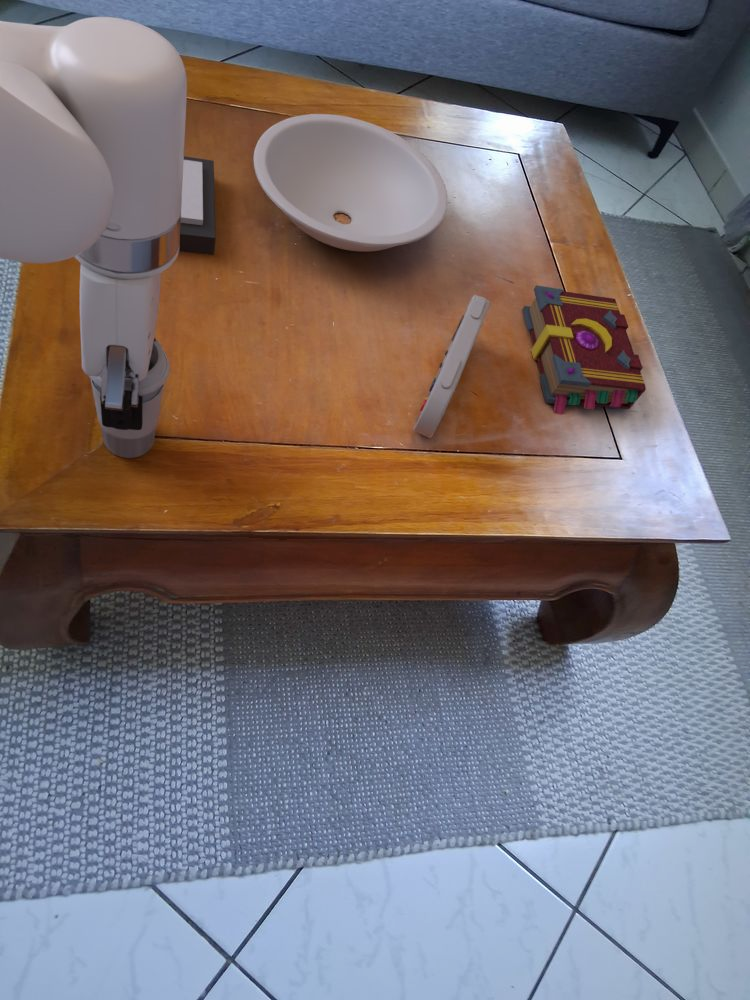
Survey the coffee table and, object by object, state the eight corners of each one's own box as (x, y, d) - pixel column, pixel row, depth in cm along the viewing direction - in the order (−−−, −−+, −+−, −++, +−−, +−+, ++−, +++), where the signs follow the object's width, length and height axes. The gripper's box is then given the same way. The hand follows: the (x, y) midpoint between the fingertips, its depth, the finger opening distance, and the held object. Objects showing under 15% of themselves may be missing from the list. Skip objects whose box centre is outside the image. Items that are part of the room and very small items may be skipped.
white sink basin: (216, 236, 90) (220, 188, 84) (287, 136, 104) (295, 89, 98) (403, 314, 91) (420, 272, 85) (450, 205, 105) (466, 163, 99)
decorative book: (600, 322, 99) (619, 294, 95) (631, 420, 91) (654, 394, 87) (520, 311, 97) (537, 281, 92) (545, 412, 88) (565, 384, 84)
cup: (181, 443, 73) (187, 359, 64) (126, 481, 70) (123, 398, 60) (131, 397, 75) (129, 309, 65) (74, 432, 71) (63, 343, 61)
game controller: (454, 330, 92) (479, 277, 85) (471, 338, 92) (497, 286, 85) (404, 443, 80) (428, 393, 74) (423, 452, 80) (449, 403, 74)
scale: (213, 255, 88) (216, 232, 85) (84, 240, 84) (82, 216, 81) (212, 178, 95) (214, 154, 92) (93, 161, 91) (91, 136, 89)
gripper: (84, 137, 56) (96, 313, 70) (42, 307, 47) (66, 469, 61) (189, 157, 57) (180, 324, 72) (169, 325, 48) (163, 477, 63)
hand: (127, 389), depth 66 cm, fingers closed on cup, 7 cm apart
